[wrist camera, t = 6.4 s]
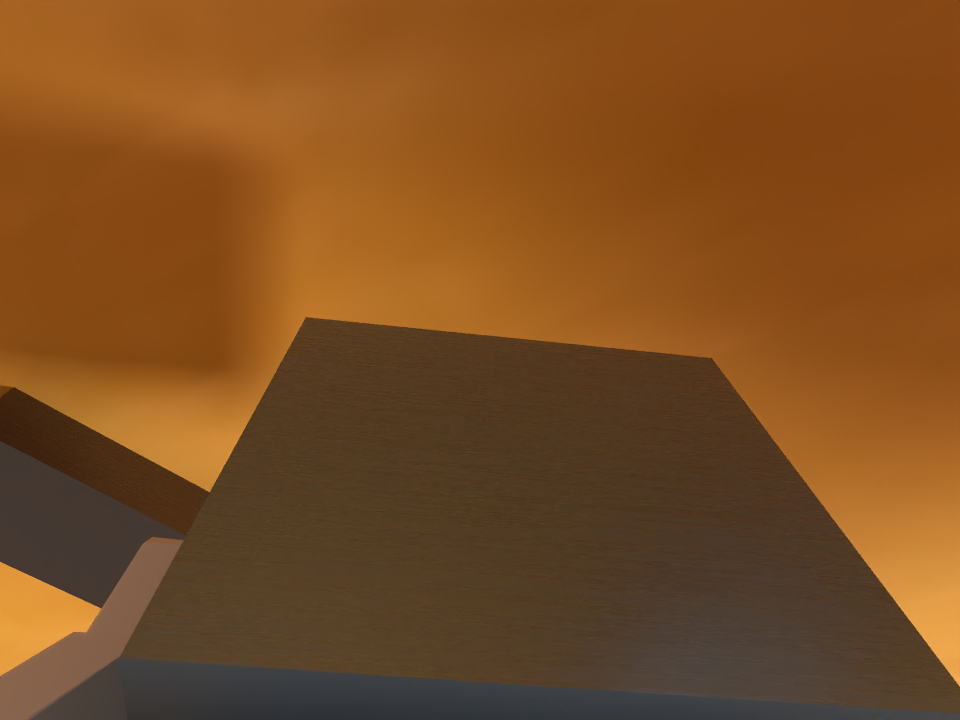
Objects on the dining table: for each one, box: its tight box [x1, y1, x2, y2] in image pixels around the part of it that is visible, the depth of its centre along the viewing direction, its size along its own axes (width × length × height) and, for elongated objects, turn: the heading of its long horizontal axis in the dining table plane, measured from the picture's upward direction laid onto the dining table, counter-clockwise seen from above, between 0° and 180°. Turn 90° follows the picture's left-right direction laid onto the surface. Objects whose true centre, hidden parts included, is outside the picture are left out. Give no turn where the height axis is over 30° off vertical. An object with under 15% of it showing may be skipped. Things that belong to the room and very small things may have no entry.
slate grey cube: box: [119, 317, 960, 720], centre depth 9 cm, size 6×6×6 cm
